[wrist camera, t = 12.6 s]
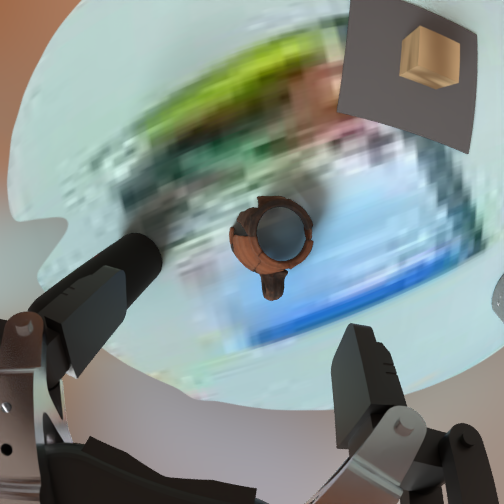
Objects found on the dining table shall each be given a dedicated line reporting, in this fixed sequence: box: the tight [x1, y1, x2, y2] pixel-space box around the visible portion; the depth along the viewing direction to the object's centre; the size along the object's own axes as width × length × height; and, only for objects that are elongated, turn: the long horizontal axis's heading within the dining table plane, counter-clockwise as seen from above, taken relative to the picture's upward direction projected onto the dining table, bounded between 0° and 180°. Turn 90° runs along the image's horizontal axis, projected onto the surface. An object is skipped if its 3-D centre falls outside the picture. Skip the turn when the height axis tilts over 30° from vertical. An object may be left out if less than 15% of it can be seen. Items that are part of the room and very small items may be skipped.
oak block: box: [399, 26, 460, 89], centre depth 22 cm, size 5×5×6 cm
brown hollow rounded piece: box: [229, 196, 313, 301], centre depth 34 cm, size 12×10×8 cm
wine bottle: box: [28, 233, 162, 313], centre depth 27 cm, size 8×8×30 cm
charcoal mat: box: [337, 0, 477, 154], centre depth 25 cm, size 18×18×1 cm
